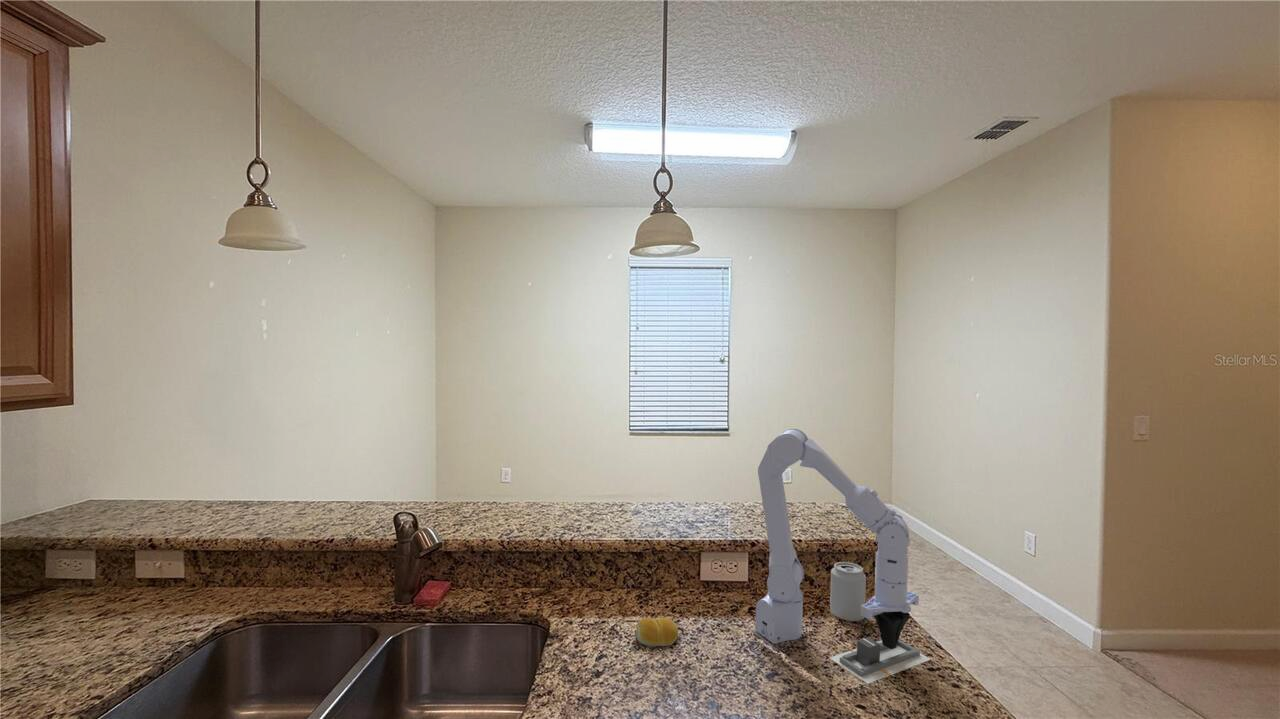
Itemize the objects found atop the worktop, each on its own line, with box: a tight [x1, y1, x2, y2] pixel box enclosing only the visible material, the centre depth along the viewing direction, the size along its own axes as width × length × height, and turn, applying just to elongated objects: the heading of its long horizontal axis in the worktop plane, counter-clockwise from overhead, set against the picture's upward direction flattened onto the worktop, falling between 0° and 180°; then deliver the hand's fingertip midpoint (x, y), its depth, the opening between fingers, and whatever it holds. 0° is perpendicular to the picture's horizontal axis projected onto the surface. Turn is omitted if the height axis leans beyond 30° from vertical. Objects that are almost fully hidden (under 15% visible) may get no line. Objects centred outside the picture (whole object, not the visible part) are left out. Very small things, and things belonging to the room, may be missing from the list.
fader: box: [856, 636, 880, 667], centre depth 103 cm, size 3×3×4 cm
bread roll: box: [635, 616, 679, 648], centre depth 113 cm, size 8×9×4 cm
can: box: [829, 561, 867, 622], centre depth 123 cm, size 8×8×12 cm
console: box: [829, 639, 932, 685], centre depth 104 cm, size 18×9×2 cm, turn 117°
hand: (889, 646), depth 105 cm, fingers closed
